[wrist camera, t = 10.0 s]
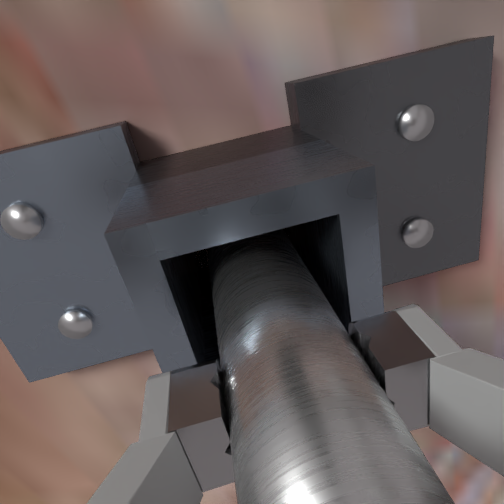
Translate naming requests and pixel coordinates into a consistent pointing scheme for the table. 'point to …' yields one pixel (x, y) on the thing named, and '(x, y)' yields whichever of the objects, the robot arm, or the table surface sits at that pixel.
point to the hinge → (243, 211)
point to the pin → (304, 390)
